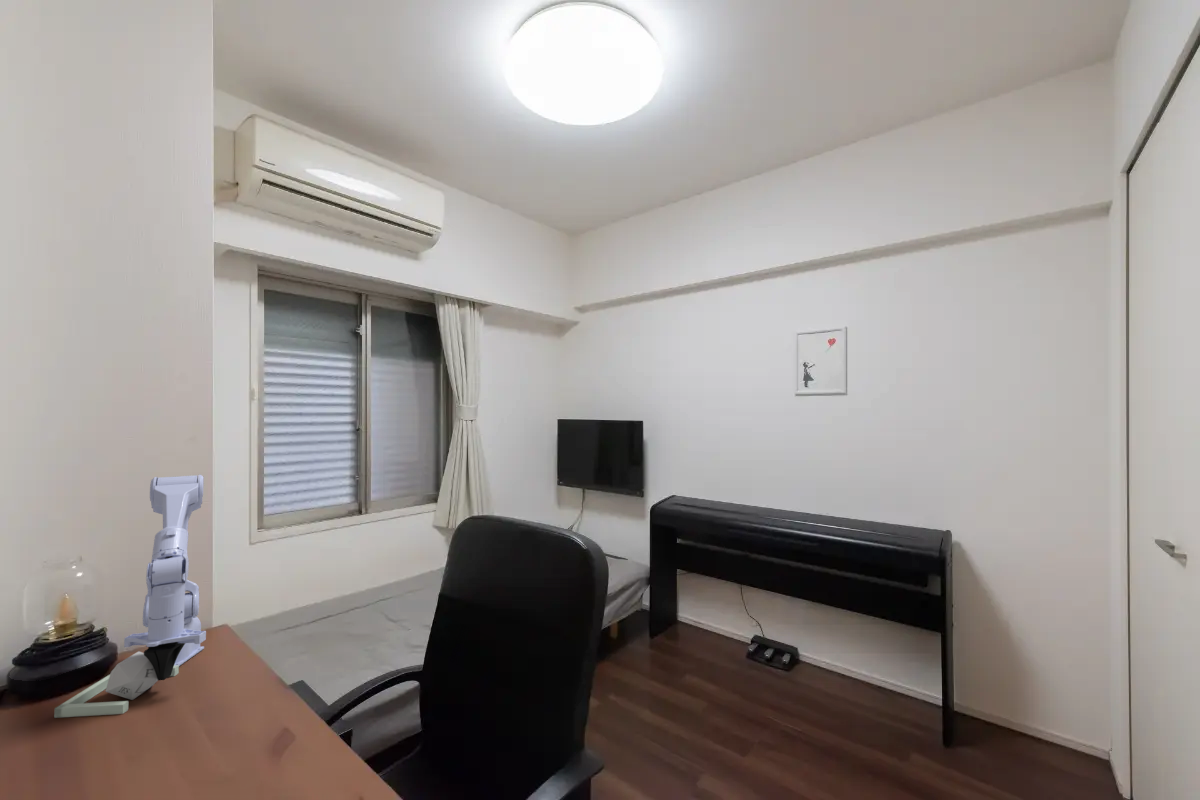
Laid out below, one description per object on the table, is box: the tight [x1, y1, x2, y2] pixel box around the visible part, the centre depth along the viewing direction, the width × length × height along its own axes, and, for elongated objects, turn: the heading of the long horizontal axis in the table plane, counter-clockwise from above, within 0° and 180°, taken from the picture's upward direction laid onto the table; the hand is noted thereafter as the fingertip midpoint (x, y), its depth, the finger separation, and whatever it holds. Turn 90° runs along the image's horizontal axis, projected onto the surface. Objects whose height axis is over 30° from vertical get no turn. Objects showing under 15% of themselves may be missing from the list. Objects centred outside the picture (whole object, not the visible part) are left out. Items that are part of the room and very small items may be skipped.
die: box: [104, 650, 159, 701], centre depth 100 cm, size 8×9×10 cm
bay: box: [53, 665, 180, 719], centre depth 100 cm, size 14×12×2 cm
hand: (164, 677), depth 101 cm, fingers closed
